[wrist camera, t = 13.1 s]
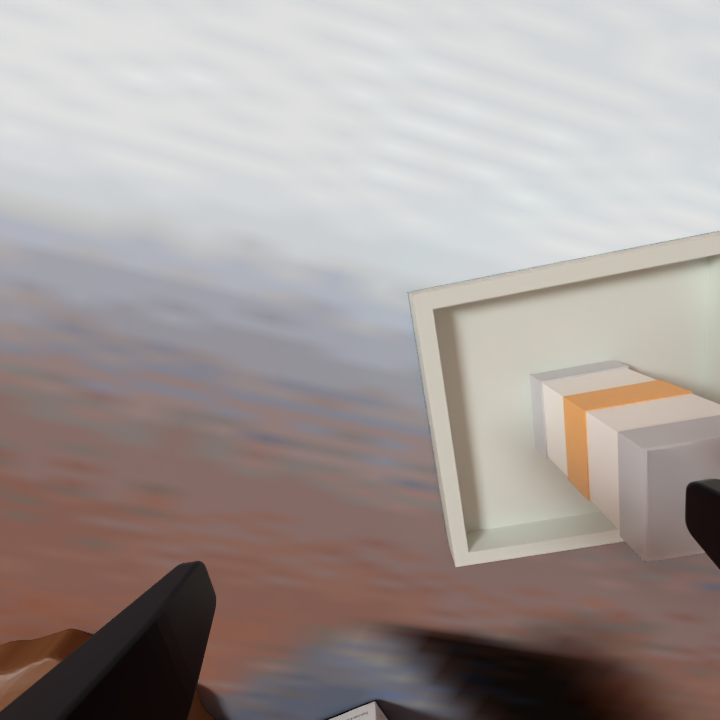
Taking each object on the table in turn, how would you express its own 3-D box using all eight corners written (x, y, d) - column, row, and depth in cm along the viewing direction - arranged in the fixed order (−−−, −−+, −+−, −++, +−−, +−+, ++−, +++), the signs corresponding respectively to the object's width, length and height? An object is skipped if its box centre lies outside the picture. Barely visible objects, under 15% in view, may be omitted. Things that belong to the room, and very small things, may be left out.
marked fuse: (614, 434, 20) (775, 542, 12) (535, 447, 20) (644, 561, 12) (612, 359, 19) (788, 425, 11) (529, 374, 19) (643, 449, 11)
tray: (705, 500, 21) (740, 523, 19) (447, 540, 22) (455, 566, 20) (716, 231, 18) (759, 227, 16) (407, 292, 18) (412, 295, 17)
